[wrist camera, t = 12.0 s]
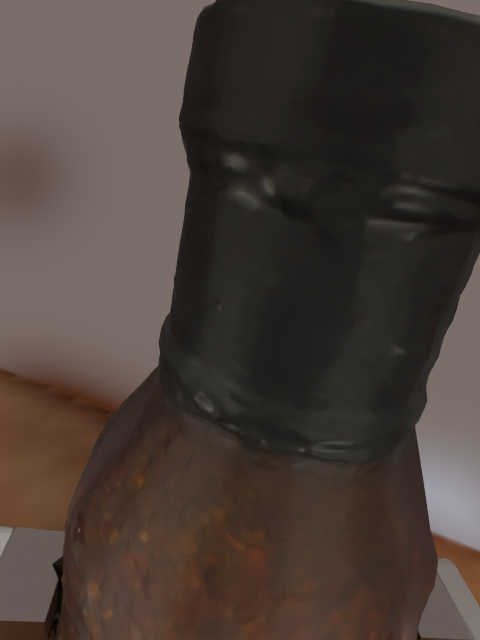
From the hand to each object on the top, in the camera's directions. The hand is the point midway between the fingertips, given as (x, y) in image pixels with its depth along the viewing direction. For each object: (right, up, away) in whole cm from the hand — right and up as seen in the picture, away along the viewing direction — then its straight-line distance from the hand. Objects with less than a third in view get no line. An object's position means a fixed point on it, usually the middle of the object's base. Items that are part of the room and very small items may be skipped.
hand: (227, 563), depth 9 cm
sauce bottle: (-2, -10, +4) cm, 11 cm away
